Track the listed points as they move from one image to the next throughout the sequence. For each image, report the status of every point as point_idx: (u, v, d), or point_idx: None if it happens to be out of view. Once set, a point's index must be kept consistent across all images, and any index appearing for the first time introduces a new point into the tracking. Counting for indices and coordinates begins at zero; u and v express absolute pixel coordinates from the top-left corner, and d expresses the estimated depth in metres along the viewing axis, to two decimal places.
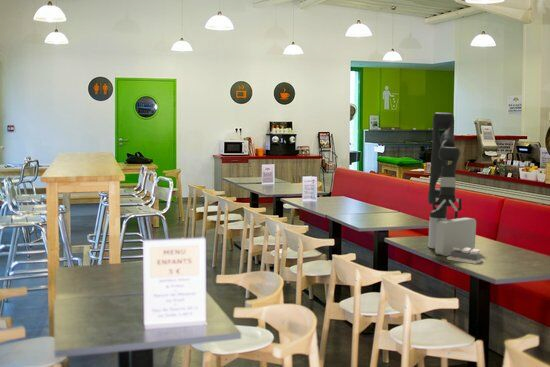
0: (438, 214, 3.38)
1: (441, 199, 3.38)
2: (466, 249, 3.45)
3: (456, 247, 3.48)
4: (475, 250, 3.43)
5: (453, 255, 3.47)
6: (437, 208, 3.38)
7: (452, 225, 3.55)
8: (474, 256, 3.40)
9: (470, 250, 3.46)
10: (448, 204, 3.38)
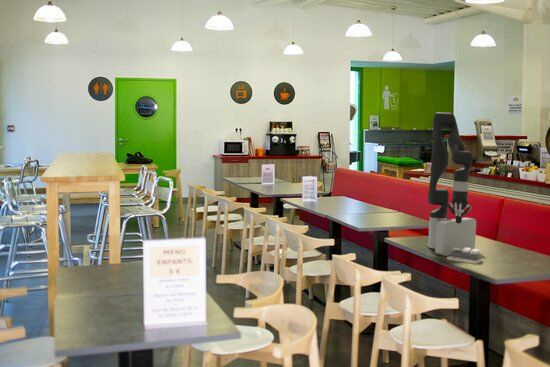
0: (457, 219, 3.45)
1: (453, 202, 3.45)
2: (466, 249, 3.45)
3: (456, 247, 3.48)
4: (475, 250, 3.43)
5: (453, 255, 3.47)
6: (456, 214, 3.45)
7: (452, 225, 3.55)
8: (474, 256, 3.40)
9: (470, 250, 3.46)
10: (457, 205, 3.44)
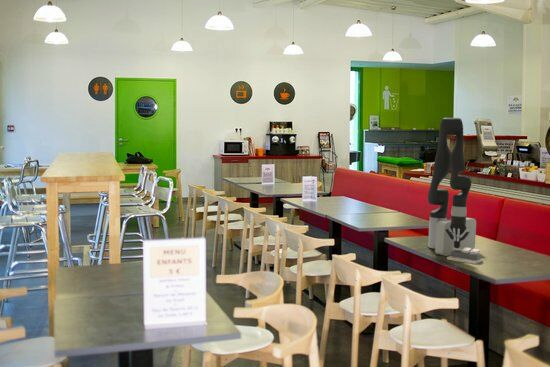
0: (455, 244, 3.46)
1: (452, 227, 3.47)
2: (466, 249, 3.45)
3: None
4: (475, 250, 3.43)
5: (453, 255, 3.47)
6: (455, 238, 3.46)
7: None
8: (474, 256, 3.40)
9: (470, 250, 3.46)
10: (456, 230, 3.45)
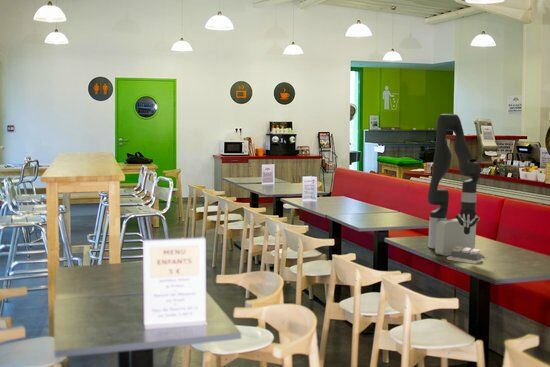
0: (465, 230, 3.45)
1: (461, 213, 3.46)
2: (466, 249, 3.45)
3: (456, 248, 3.48)
4: (475, 250, 3.43)
5: (453, 255, 3.47)
6: (464, 225, 3.45)
7: (452, 225, 3.55)
8: (474, 256, 3.40)
9: (470, 250, 3.46)
10: (466, 216, 3.45)
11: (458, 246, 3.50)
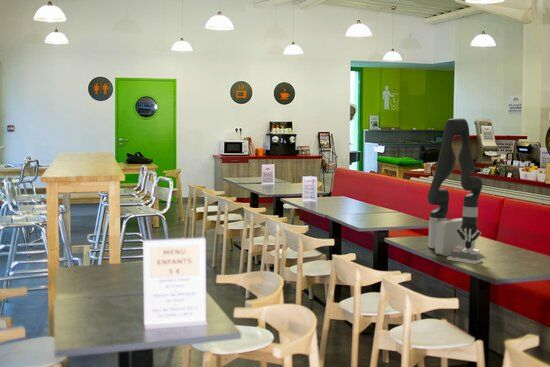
0: (467, 245, 3.46)
1: (463, 227, 3.47)
2: (466, 249, 3.45)
3: (456, 248, 3.48)
4: (475, 250, 3.43)
5: (453, 255, 3.47)
6: (466, 239, 3.46)
7: (452, 225, 3.55)
8: (474, 256, 3.40)
9: (470, 250, 3.46)
10: (467, 231, 3.46)
11: (458, 245, 3.50)
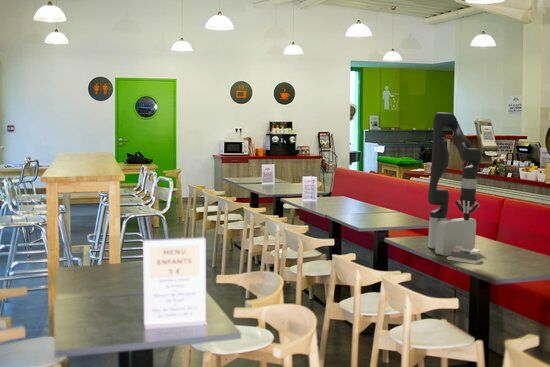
0: (465, 217, 3.46)
1: (461, 199, 3.46)
2: (465, 249, 3.45)
3: (456, 248, 3.48)
4: (475, 250, 3.43)
5: (453, 255, 3.47)
6: (464, 211, 3.45)
7: (452, 225, 3.55)
8: (474, 256, 3.40)
9: None
10: (466, 203, 3.45)
11: (458, 246, 3.50)
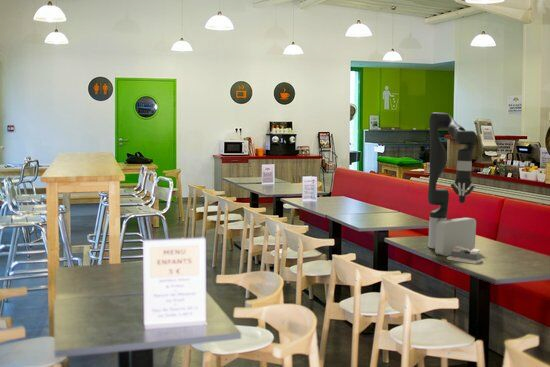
0: (461, 199, 3.46)
1: (457, 181, 3.47)
2: None
3: (456, 248, 3.48)
4: (475, 250, 3.43)
5: (453, 255, 3.47)
6: (460, 193, 3.46)
7: (452, 225, 3.55)
8: (474, 256, 3.40)
9: None
10: (461, 185, 3.45)
11: (458, 246, 3.50)
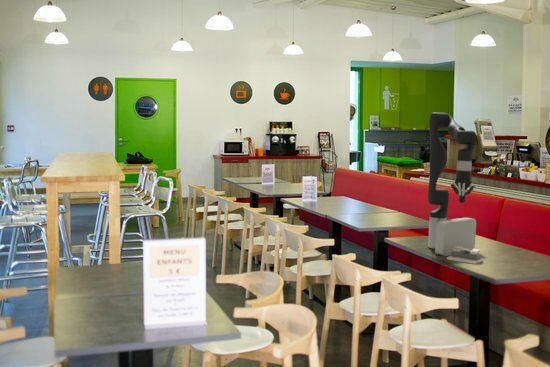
0: (461, 199, 3.46)
1: (457, 181, 3.47)
2: None
3: (456, 248, 3.48)
4: (475, 250, 3.43)
5: (453, 255, 3.47)
6: (460, 193, 3.46)
7: (452, 225, 3.55)
8: (474, 256, 3.40)
9: None
10: (461, 185, 3.45)
11: (458, 246, 3.50)
